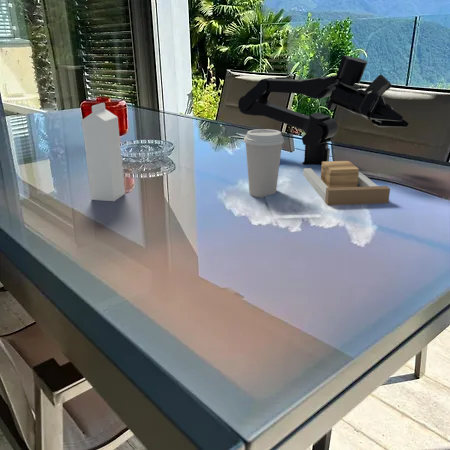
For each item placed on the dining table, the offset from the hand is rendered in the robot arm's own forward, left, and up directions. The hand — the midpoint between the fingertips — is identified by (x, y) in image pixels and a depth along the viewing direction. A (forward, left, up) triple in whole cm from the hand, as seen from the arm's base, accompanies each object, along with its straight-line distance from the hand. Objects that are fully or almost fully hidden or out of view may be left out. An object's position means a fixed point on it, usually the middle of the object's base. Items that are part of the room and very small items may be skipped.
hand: (405, 122), depth 119 cm
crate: (-13, -15, -14) cm, 24 cm away
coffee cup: (-28, -28, -15) cm, 43 cm away
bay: (-11, -18, -15) cm, 26 cm away
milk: (-61, -46, -15) cm, 78 cm away
